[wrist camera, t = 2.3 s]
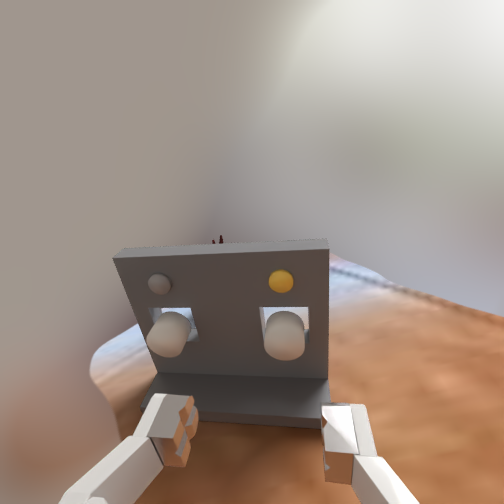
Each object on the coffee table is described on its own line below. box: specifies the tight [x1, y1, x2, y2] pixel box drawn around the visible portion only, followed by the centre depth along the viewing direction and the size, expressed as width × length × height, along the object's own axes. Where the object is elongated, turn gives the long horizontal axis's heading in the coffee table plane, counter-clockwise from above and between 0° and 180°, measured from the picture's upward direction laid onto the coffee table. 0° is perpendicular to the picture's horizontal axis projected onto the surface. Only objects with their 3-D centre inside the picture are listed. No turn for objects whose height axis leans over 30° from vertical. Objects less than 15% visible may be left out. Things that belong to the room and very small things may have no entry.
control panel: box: [113, 239, 331, 429], centre depth 33 cm, size 8×24×21 cm, turn 82°
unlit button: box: [146, 312, 191, 357], centre depth 34 cm, size 3×4×4 cm
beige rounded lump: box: [264, 311, 305, 361], centre depth 31 cm, size 3×4×4 cm
